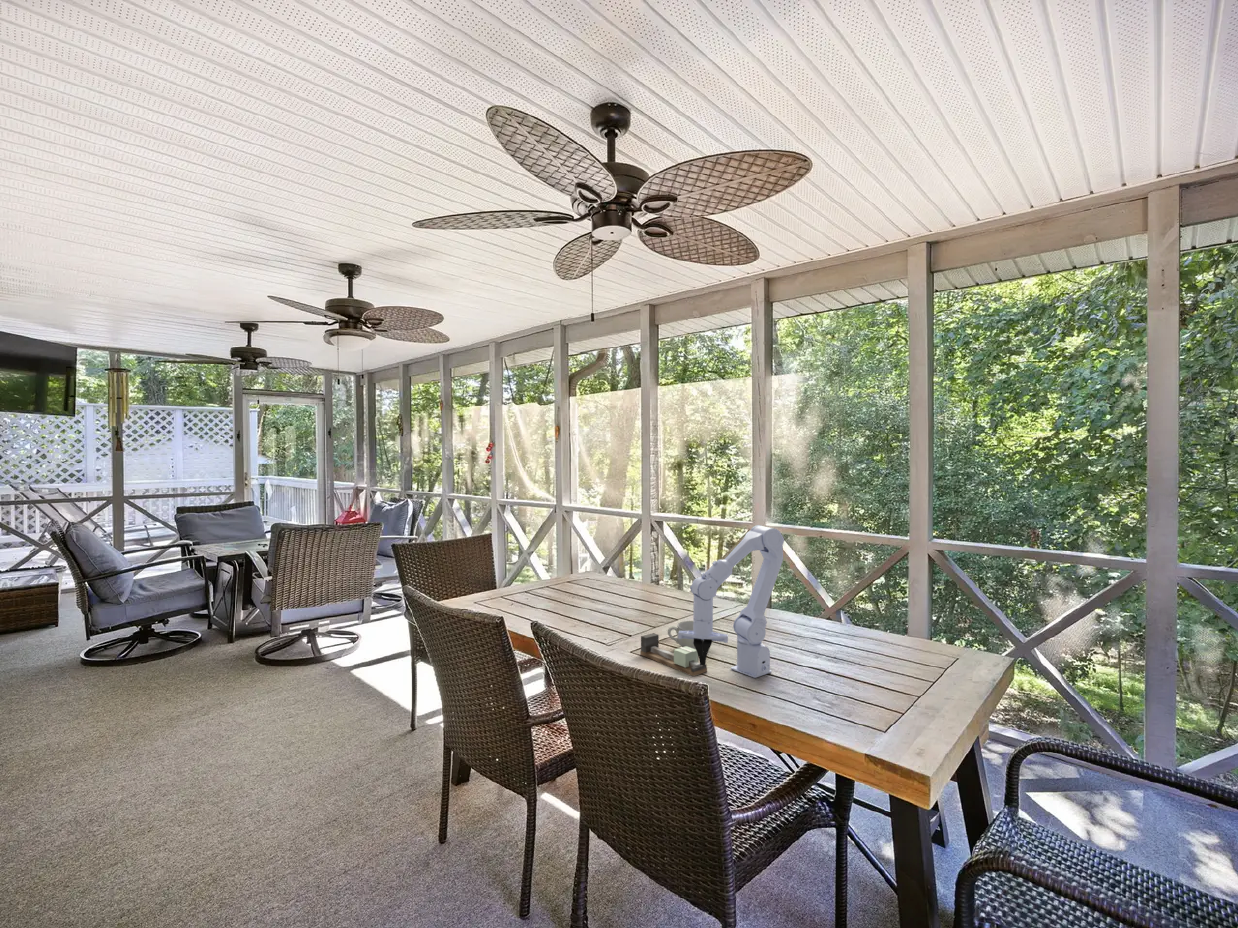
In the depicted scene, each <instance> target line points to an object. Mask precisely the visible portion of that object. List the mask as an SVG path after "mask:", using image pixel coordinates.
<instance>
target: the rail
mask: <svg viewBox="0 0 1238 928" xmlns="http://www.w3.org/2000/svg"><path fill="white" fill-rule="evenodd" d="M659 637H660V635H659V634H657V633H656V632H655V633H654V632H653V633H649V634H644V635H641V636H640V653H639V654H640V655H641V656H643V657H645V658H648V659H650V660H653V661H655V662H657V663H661V664H662V665H665V666H667V667H670V668H673V669H675V670H677V671H680V672H682V673H685V674H686V675H689V676H691V677H696V676H697V675H700V674H704V673H707V672H708V667H707V664H705V666H703V665H700V662H698V663H697V662H695V661H689V667H686V668H685V667H683V666H680V665H678V664H675V663H674V652H672V651H669V650H666V649H663V648H660V647H659V645H660V643H659Z"/></svg>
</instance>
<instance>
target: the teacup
mask: <svg viewBox="0 0 1238 928" xmlns="http://www.w3.org/2000/svg"><path fill="white" fill-rule="evenodd" d="M673 630H675V633H676V634H677V635H676V637H675V636H673V635H672V631H673ZM679 631H693V620H682V621H680V622H677V626H674V625H673V626H670V627H668V629H667V635H668V637H669V638H670V639H671V640H673V641H674V642H675V643H676V644H678V645H679V646H680V647H685V646H687V647H690V648H693V649H696V648H695V647H694V644H693V642H694V639H683V638H682V639H678V632H679ZM703 641H704V640H703Z"/></svg>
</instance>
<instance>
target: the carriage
mask: <svg viewBox="0 0 1238 928" xmlns="http://www.w3.org/2000/svg"><path fill="white" fill-rule="evenodd" d="M673 653H674V663H675V664H678V665H680V666H683V667H685V668H686V667H689V661H695V662H697V663H699V656H698V653H697V651H696V649H693V648H690V647H687V646H685V647H682V646H680V647H678V648H675V649H673Z"/></svg>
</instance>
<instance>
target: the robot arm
mask: <svg viewBox="0 0 1238 928" xmlns="http://www.w3.org/2000/svg"><path fill="white" fill-rule="evenodd" d="M784 542H785V538H784V536H783V535H782V533H781V531H780V530H779V529H778V528H773V527H769V526H763V525H761V524H757V525H754V526H753V527H751V529H750V530H749V531H747V532H746V533H745V535H744V537H743V538H742V539H741V541H740V542H739V543H738V544H737V545H736V546H735V547H734V548H733V549H732V551H731V552H730V553H729V554H727V556H726V557H725V558H724V559H717V561H716V560H714V561H713V562H712V563H711V564H712V565H711V566H710V567H709V568H708V569H707V570H706V571H705V572H702V573H701V576H699V577H696V578H694V579H693V580H692V583H691V585H690V586H689V589H690V592H691V593H692V595H693V603H692V604H693V611H692V612H693V614H692V615H693V620H692V621H693V631H679V632H678V639H682V638H683V639H694V642H693V644H694V647H695V648H696V651H697V653H698V661H699V663H700V665H703V666H705V664H706V661H707V655H708V653H709V650H710V648H711V646H712V642H719V643H720V642H722V643H725V644H727V643H728V641H729V635H728V633H727V634H726V633H721V632H720V633H719V632H715V631H714V628H713V627H714V626H713V625H714V622H713V621H714V618H713V617H714V612H713V611H714V598H715V597H716V594H717V592H718V588H719V587H721V585H722V584H723V583H724V582H725V581H726V580H727V579H728V578H730V577H731V576H732V574H733V568H734V567H735V566H736V565H737V564H738V563H740V562H741V561H742V560H743V559H745V557H747V556H748V555H749V554H750V553H751V552H754V551H755V552H756V551H759V552H760V555H762V557H763V560H762V562H761V563H762V564H761V565H760V569H759V571H758V575H757V578H756V581H755V582H754V586H753V587H752V591H751V594H750V597H749V599H748V602H747V606H746V607H744V608H743V609H741V610H740V612H739V615H738V616H737V617H736V618H735V620H734V622H733V624H732V625H733V628H732V629H733V631H734V633H735V634H736V665H734V666H731V667H730V669H731V671H735V672H738V673H741V674H743V675H746V676H749V677H751V678H753V679H755V678H759V677H761V676H765V675H767V674H771V673H772V669H771V666H770V665H771V652H770V649H769V647H768V646H766V645H764V643H763V641H764V639H765V637H766V633H767V632H766V626H767V623H768V621H767V618H766V615H765V612H766V610H767V607H768V605H769V601H770V598H771V595H772V593H773V590H774V588H775V587H774V586H775V584H776V581H777V578H778V576H779V573H780V571H781V570H780V569H781V567H782V564H783V562H784V548H783V547H784V546H783V545H784ZM703 640H704V641H703ZM706 665H707V664H706Z"/></svg>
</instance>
